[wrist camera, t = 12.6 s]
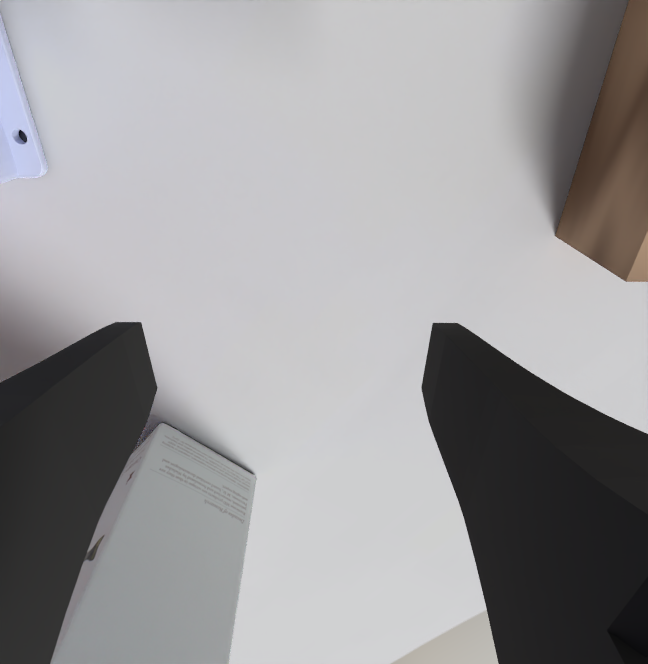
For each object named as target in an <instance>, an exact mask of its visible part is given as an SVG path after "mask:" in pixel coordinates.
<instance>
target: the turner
mask: <svg viewBox="0 0 648 664" xmlns="http://www.w3.org/2000/svg"><path fill="white" fill-rule="evenodd" d="M555 236H556V237H557V238H559V239H561V240H562V241H564V242H565V243H567V244H568V245H570V246H571V247H573V248H575V249H576V250H578V251H579V252H581V253H582V254H584V255H585V256H587V257H589V258H590V259H592V260H593V261H595V262H596V263H598V264H599V265H601V266H603V267H604V268H606V269H607V270H609V271H610V272H612V273H613V274H615V275H617V276H618V277H620V278H621V279H623V280H624V281H626V282H648V0H629V1H628V5H627V8H626V11H625V14H624V17H623V21H622V24H621V27H620V30H619V33H618V37H617V40H616V43H615V46H614V49H613V53H612V56H611V59H610V62H609V65H608V69H607V72H606V75H605V78H604V81H603V85H602V88H601V91H600V94H599V97H598V101H597V104H596V107H595V110H594V113H593V117H592V120H591V123H590V126H589V129H588V133H587V136H586V139H585V142H584V145H583V149H582V152H581V155H580V158H579V161H578V165H577V168H576V171H575V174H574V177H573V181H572V184H571V187H570V190H569V193H568V196H567V200H566V203H565V206H564V209H563V212H562V216H561V219H560V222H559V225H558V228H557V232H556V235H555Z"/></svg>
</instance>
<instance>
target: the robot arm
mask: <svg viewBox="0 0 648 664" xmlns="http://www.w3.org/2000/svg"><path fill="white" fill-rule="evenodd" d="M19 130H22V131H23V132H24V133H25V134H26V136H27V142H24V141H23V140H21V138H20V137H19ZM47 169H48V167H47V162H46V159H45V155H44V152H43V149H42V146H41V143H40V139H39V136H38V133H37V130H36V126H35V123H34V120H33V117H32V114H31V110H30V107H29V104H28V101H27V98H26V94H25V91H24V88H23V85H22V81H21V78H20V75H19V72H18V69H17V65H16V62H15V59H14V56H13V52H12V49H11V46H10V43H9V40H8V36H7V33H6V30H5V27H4V24H3V20H2V17H1V14H0V184H1V183H4V182H7V181H10V180H13V179H16V178H37V177H41V176H43V175H44V174H46V172H47ZM156 391H157V385H156V381H155V377H154V373H153V369H152V365H151V361H150V357H149V353H148V349H147V345H146V341H145V336H144V332H143V328H142V324H141V322H115V323H113V324H111V325H108V326H106V327H104V328H102V329H100V330H98V331H96V332H94V333H92V334H90V335H89V336H87V337H85V338H83V339H81V340H79V341H78V342H76V343H74V344H72V345H70V346H69V347H67V348H65V349H63V350H61V351H60V352H58V353H56V354H54V355H52V356H51V357H49V358H47V359H45V360H43V361H42V362H40V363H38V364H36V365H34V366H32V367H30V368H28V369H26V370H24V371H22V372H20V373H19V374H17V375H15V376H13V377H11V378H9V379H7V380H5V381H3V382H1V383H0V664H50V663H51V660H52V656H53V653H54V650H55V647H56V644H57V640H58V637H59V634H60V631H61V627H62V624H63V621H64V618H65V614H66V611H67V608H68V606H69V603H70V600H71V597H72V594H73V591H74V588H75V585H76V582H77V579H78V576H79V573H80V570H81V567H82V565H83V562H84V559H85V557H86V554H87V551H88V548H89V546H90V543H91V540H92V538H93V535H94V532H95V530H96V527H97V524H98V522H99V519H100V517H101V515H102V513H103V510H104V508H105V506H106V504H107V502H108V500H109V498H110V496H111V494H112V492H113V490H114V488H115V486H116V484H117V482H118V480H119V478H120V476H121V474H122V471H123V469H124V467H125V465H126V463H127V461H128V459H129V457H130V455H131V453H132V451H133V449H134V447H135V445H136V443H137V441H138V439H139V437H140V435H141V433H142V431H143V429H144V427H145V424H146V422H147V419H148V416H149V413H150V410H151V407H152V404H153V401H154V397H155V394H156ZM422 392H423V397H424V402H425V407H426V411H427V415H428V420H429V423H430V426H431V429H432V432H433V434H434V437H435V440H436V442H437V445H438V448H439V451H440V453H441V456H442V458H443V461H444V464H445V466H446V469H447V472H448V474H449V477H450V480H451V482H452V485H453V488H454V490H455V493H456V496H457V498H458V501H459V504H460V507H461V510H462V513H463V516H464V520H465V523H466V527H467V531H468V535H469V539H470V542H471V546H472V550H473V554H474V558H475V562H476V566H477V570H478V574H479V578H480V583H481V587H482V591H483V595H484V599H485V603H486V608H487V612H488V617H489V621H490V626H491V631H492V635H493V640H494V644H495V649H496V653H497V658H498V663H499V664H648V434H646V433H644V432H642V431H640V430H637V429H635V428H633V427H630V426H628V425H626V424H624V423H622V422H620V421H618V420H615V419H613V418H611V417H609V416H607V415H605V414H603V413H601V412H599V411H597V410H596V409H594V408H592V407H590V406H588V405H586V404H584V403H582V402H580V401H578V400H576V399H574V398H573V397H571V396H569V395H567V394H565V393H564V392H562V391H560V390H559V389H557V388H555V387H554V386H552V385H550V384H549V383H547V382H545V381H544V380H542V379H540V378H539V377H537V376H536V375H534V374H532V373H531V372H529V371H528V370H526V369H525V368H523V367H522V366H520V365H519V364H517V363H516V362H514V361H513V360H511V359H510V358H508V357H507V356H505V355H504V354H502V353H501V352H500V351H498V350H497V349H495V348H494V347H492V346H491V345H490V344H488V343H487V342H485V341H484V340H482V339H481V338H480V337H478V336H477V335H475V334H474V333H472V332H471V331H469V330H468V329H466V328H465V327H463V326H461V325H460V324H458V323H433V325H432V331H431V337H430V342H429V348H428V354H427V359H426V365H425V371H424V377H423V382H422Z"/></svg>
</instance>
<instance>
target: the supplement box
mask: <svg viewBox="0 0 648 664" xmlns="http://www.w3.org/2000/svg"><path fill="white" fill-rule="evenodd" d="M256 480H257V478H256V476H254V475H253V474H251V473H249V472H248V471H246V470H244V469H243V468H241V467H239V466H238V465H236V464H234V463H232V462H231V461H229V460H227V459H226V458H224V457H222V456H221V455H219V454H217V453H215V452H214V451H212V450H211V449H209V448H207V447H206V446H204V445H202V444H200V443H198V442H197V441H195V440H193V439H192V438H190V437H188V436H186V435H184V434H183V433H181V432H180V431H178V430H176V429H174V428H173V427H170V426H169V425H167V424H164V423H161V424H159V425H158V426H157V427H156V428H155V429H154V431H153V432H152V433H151V434H150V435H149V436H148V437H147V438H146V440H145V441H144V442H143V443H142V444H141V445H140V446H139V447H138V448H137V449H136V450H135V451H134V452H133V453H132V454H131V455H130V457H129V459H128V461H127V463H126V465H125V467H124V469H123V471H122V474H121V476H120V478H119V480H118V482H117V484H116V486H115V488H114V490H113V492H112V494H111V496H110V498H109V500H108V502H107V504H106V506H105V508H104V510H103V513H102V515H101V517H100V519H99V522H98V524H97V527H96V530H95V532H94V535H93V538H92V540H91V543H90V546H89V548H88V551H87V554H86V557H85V559H84V562H83V565H82V567H81V570H80V573H79V576H78V579H77V582H76V585H75V588H74V591H73V594H72V597H71V600H70V603H69V606H68V608H67V611H66V614H65V618H64V621H63V624H62V627H61V631H60V634H59V637H58V640H57V644H56V647H55V650H54V653H53V656H52V660H51V663H50V664H229V658H230V651H231V645H232V638H233V632H234V625H235V618H236V611H237V605H238V598H239V592H240V585H241V578H242V572H243V565H244V558H245V552H246V545H247V538H248V531H249V525H250V518H251V512H252V505H253V498H254V492H255V485H256Z"/></svg>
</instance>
